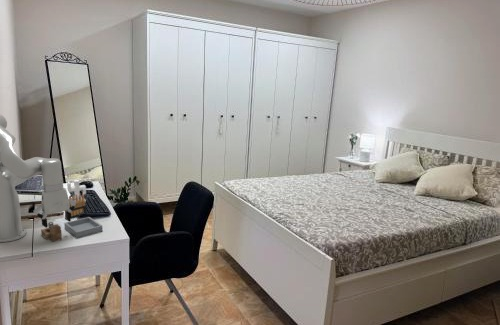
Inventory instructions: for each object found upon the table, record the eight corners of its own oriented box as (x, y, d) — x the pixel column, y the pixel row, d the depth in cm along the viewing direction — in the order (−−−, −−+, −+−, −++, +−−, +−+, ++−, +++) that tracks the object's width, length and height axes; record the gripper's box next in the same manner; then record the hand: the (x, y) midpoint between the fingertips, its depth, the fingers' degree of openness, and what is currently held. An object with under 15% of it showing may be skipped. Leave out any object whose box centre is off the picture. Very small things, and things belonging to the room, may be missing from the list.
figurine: (88, 205, 199) (87, 180, 195) (70, 209, 192) (69, 183, 189) (84, 202, 204) (83, 177, 200) (66, 205, 197) (65, 179, 194)
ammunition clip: (67, 220, 178) (65, 197, 176) (64, 219, 179) (63, 196, 176) (86, 214, 187) (85, 192, 184) (84, 213, 188) (83, 192, 185)
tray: (76, 238, 159) (76, 232, 159) (64, 228, 168) (64, 222, 168) (102, 231, 168) (102, 225, 168) (89, 222, 177) (89, 216, 177)
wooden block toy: (49, 242, 154) (49, 229, 153) (41, 234, 161) (40, 222, 159) (65, 238, 159) (64, 226, 157) (56, 230, 165) (55, 219, 164)
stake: (50, 236, 160) (49, 224, 158) (48, 234, 161) (47, 222, 160) (54, 235, 161) (53, 223, 160) (53, 233, 162) (52, 221, 161)
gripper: (34, 193, 143) (38, 231, 147) (77, 184, 156) (80, 220, 160) (28, 189, 148) (32, 226, 152) (70, 181, 161) (73, 216, 165)
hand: (57, 223), depth 156 cm, fingers open, 9 cm apart
